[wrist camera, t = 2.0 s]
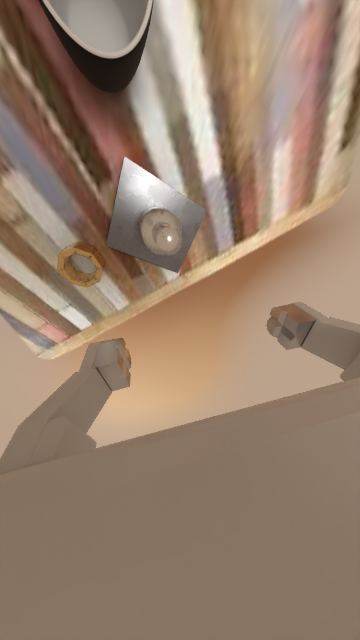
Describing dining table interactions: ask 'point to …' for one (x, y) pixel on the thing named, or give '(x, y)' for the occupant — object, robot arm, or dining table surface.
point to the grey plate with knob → (152, 219)
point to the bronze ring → (71, 272)
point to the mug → (102, 37)
